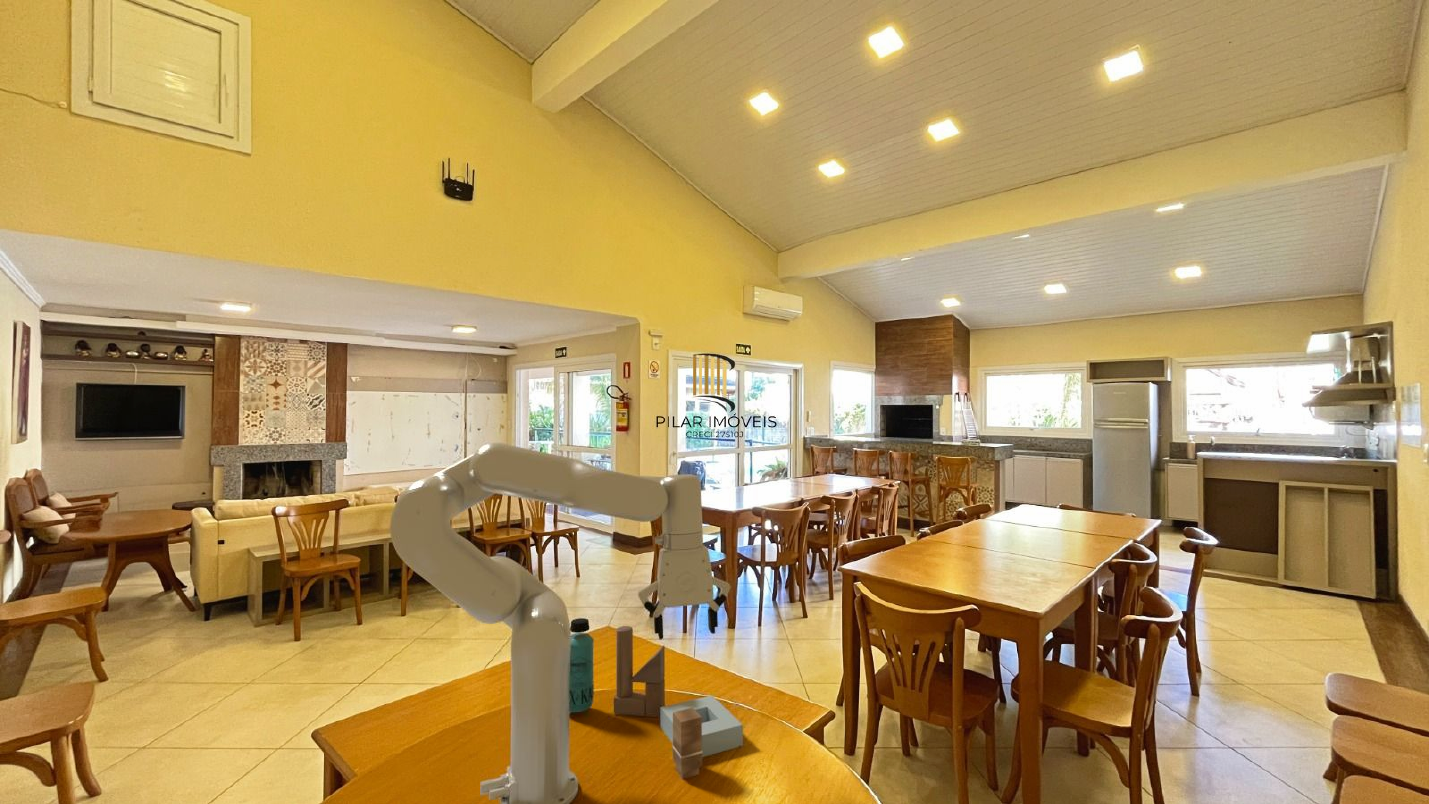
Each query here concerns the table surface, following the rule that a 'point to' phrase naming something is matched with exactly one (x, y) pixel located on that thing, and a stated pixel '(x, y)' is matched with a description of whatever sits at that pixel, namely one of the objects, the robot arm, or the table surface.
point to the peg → (687, 742)
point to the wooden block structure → (638, 679)
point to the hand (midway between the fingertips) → (686, 634)
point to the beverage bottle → (581, 667)
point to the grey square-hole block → (707, 724)
